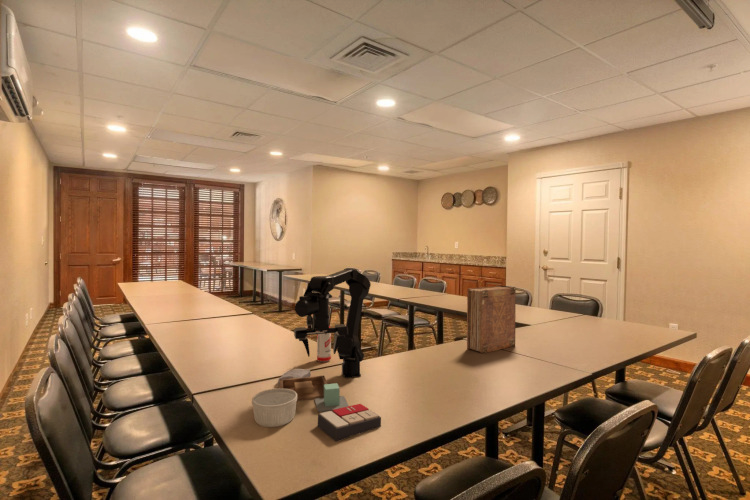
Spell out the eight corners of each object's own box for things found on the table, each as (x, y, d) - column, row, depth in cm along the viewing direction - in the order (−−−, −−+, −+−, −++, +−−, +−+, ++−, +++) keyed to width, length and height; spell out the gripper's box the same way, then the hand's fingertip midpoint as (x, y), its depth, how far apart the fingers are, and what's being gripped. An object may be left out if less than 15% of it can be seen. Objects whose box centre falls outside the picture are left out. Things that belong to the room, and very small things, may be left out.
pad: (343, 396, 134) (343, 395, 134) (349, 408, 124) (349, 407, 124) (314, 399, 131) (314, 398, 131) (318, 412, 121) (318, 411, 121)
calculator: (381, 414, 112) (336, 426, 104) (381, 429, 112) (335, 442, 104) (361, 401, 121) (317, 411, 113) (360, 415, 121) (316, 426, 113)
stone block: (276, 391, 144) (302, 387, 142) (274, 378, 144) (299, 374, 142) (289, 381, 155) (313, 377, 154) (287, 369, 156) (310, 365, 154)
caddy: (324, 384, 145) (324, 375, 145) (328, 397, 133) (328, 387, 133) (279, 389, 141) (279, 379, 141) (280, 402, 129) (280, 391, 129)
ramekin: (287, 431, 109) (286, 407, 109) (243, 427, 112) (243, 403, 112) (303, 411, 122) (303, 389, 122) (264, 408, 125) (264, 386, 125)
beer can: (333, 359, 177) (333, 324, 177) (327, 363, 171) (327, 326, 171) (320, 357, 179) (320, 323, 179) (314, 361, 173) (314, 325, 173)
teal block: (337, 399, 130) (337, 383, 130) (339, 405, 126) (339, 388, 126) (323, 401, 129) (323, 384, 129) (325, 406, 125) (325, 389, 125)
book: (481, 353, 185) (481, 290, 184) (466, 349, 192) (466, 288, 192) (515, 345, 199) (515, 287, 198) (500, 342, 206) (500, 285, 206)
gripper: (341, 306, 150) (342, 346, 150) (292, 309, 144) (293, 351, 145) (348, 311, 139) (349, 354, 140) (295, 315, 134) (296, 360, 134)
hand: (321, 355), depth 140 cm, fingers open, 9 cm apart
